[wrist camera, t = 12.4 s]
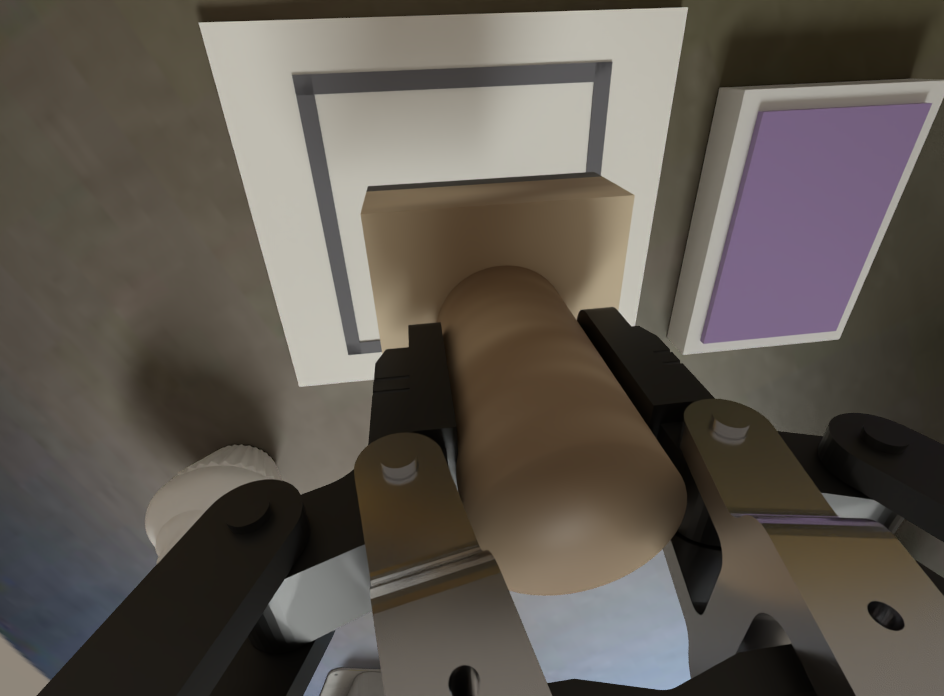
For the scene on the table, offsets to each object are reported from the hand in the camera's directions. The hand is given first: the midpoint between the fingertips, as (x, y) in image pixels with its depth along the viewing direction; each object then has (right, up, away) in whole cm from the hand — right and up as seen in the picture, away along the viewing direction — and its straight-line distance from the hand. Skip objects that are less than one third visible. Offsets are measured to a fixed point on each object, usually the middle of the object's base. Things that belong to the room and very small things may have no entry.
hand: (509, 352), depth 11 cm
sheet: (-1, +5, +9) cm, 10 cm away
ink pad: (+13, +6, +10) cm, 17 cm away
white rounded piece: (-13, -6, +14) cm, 20 cm away
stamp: (0, +2, +3) cm, 4 cm away
